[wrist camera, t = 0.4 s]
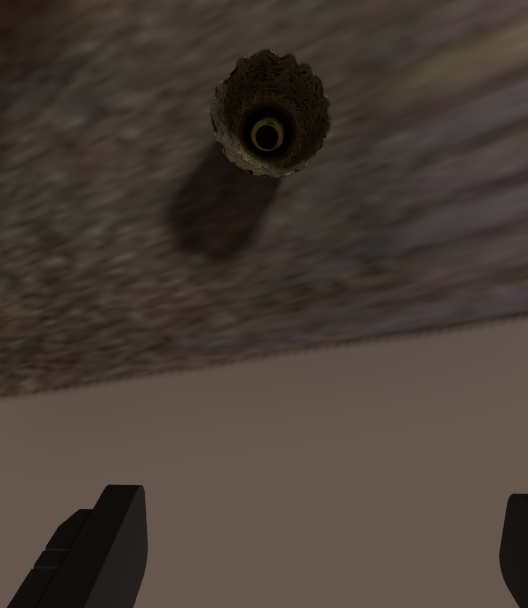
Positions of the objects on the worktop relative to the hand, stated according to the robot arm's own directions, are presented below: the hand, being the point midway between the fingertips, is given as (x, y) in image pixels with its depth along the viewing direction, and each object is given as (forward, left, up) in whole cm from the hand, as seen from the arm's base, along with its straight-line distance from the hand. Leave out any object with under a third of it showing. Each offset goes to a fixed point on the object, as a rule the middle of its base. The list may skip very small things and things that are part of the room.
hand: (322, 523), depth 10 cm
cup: (-13, +1, -29) cm, 32 cm away
